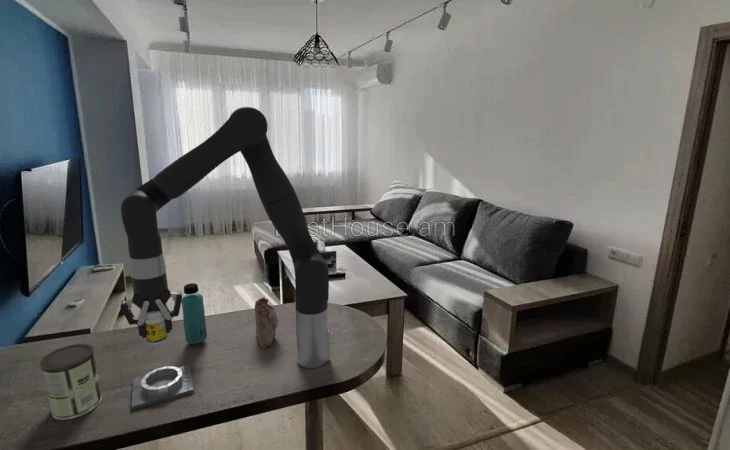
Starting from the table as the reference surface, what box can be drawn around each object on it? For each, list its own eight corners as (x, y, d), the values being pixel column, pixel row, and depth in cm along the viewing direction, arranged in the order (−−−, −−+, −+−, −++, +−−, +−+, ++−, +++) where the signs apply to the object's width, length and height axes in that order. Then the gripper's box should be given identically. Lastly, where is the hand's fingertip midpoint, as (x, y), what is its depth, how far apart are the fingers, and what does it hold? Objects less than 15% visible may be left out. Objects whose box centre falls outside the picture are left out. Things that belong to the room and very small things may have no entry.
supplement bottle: (142, 342, 97) (138, 312, 95) (157, 333, 102) (154, 304, 99) (156, 346, 96) (152, 316, 94) (171, 337, 100) (168, 307, 98)
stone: (249, 295, 124) (252, 311, 116) (273, 291, 127) (277, 305, 118) (256, 333, 129) (259, 351, 121) (278, 328, 132) (282, 345, 123)
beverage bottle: (202, 348, 120) (196, 289, 115) (181, 348, 120) (174, 289, 115) (211, 337, 126) (206, 281, 121) (191, 336, 126) (185, 280, 121)
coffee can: (70, 391, 100) (60, 343, 96) (111, 391, 100) (102, 343, 97) (39, 420, 90) (27, 368, 86) (84, 420, 90) (74, 368, 87)
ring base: (190, 367, 111) (189, 358, 110) (193, 392, 100) (192, 382, 100) (133, 381, 104) (132, 372, 103) (131, 410, 94) (130, 399, 93)
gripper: (112, 282, 87) (123, 348, 92) (181, 272, 94) (188, 334, 98) (115, 271, 94) (125, 333, 98) (180, 262, 100) (186, 321, 105)
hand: (156, 333), depth 98 cm, fingers closed on supplement bottle, 4 cm apart
